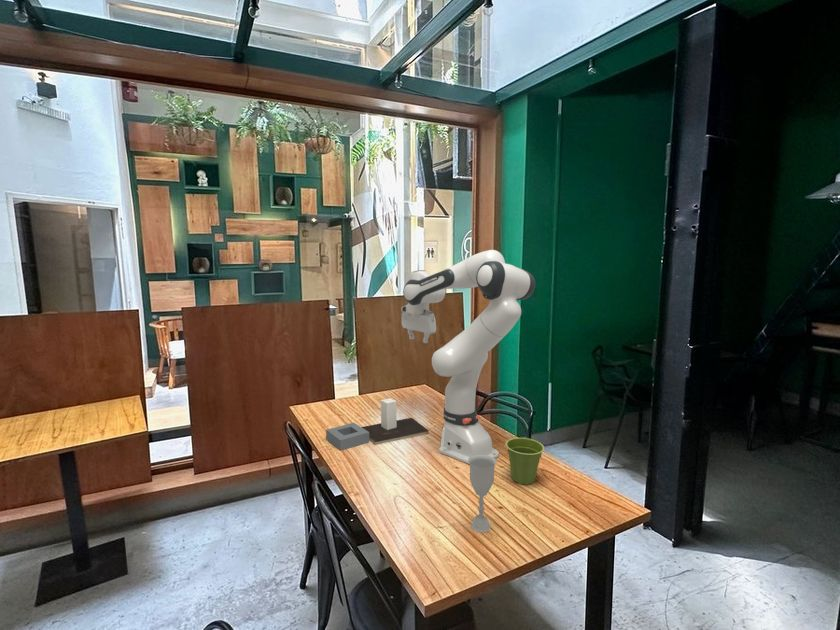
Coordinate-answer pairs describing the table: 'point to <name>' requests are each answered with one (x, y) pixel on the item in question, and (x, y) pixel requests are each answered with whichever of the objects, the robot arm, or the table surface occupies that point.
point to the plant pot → (524, 459)
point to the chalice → (481, 486)
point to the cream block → (388, 414)
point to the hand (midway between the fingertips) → (418, 341)
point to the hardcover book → (395, 431)
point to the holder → (347, 436)
